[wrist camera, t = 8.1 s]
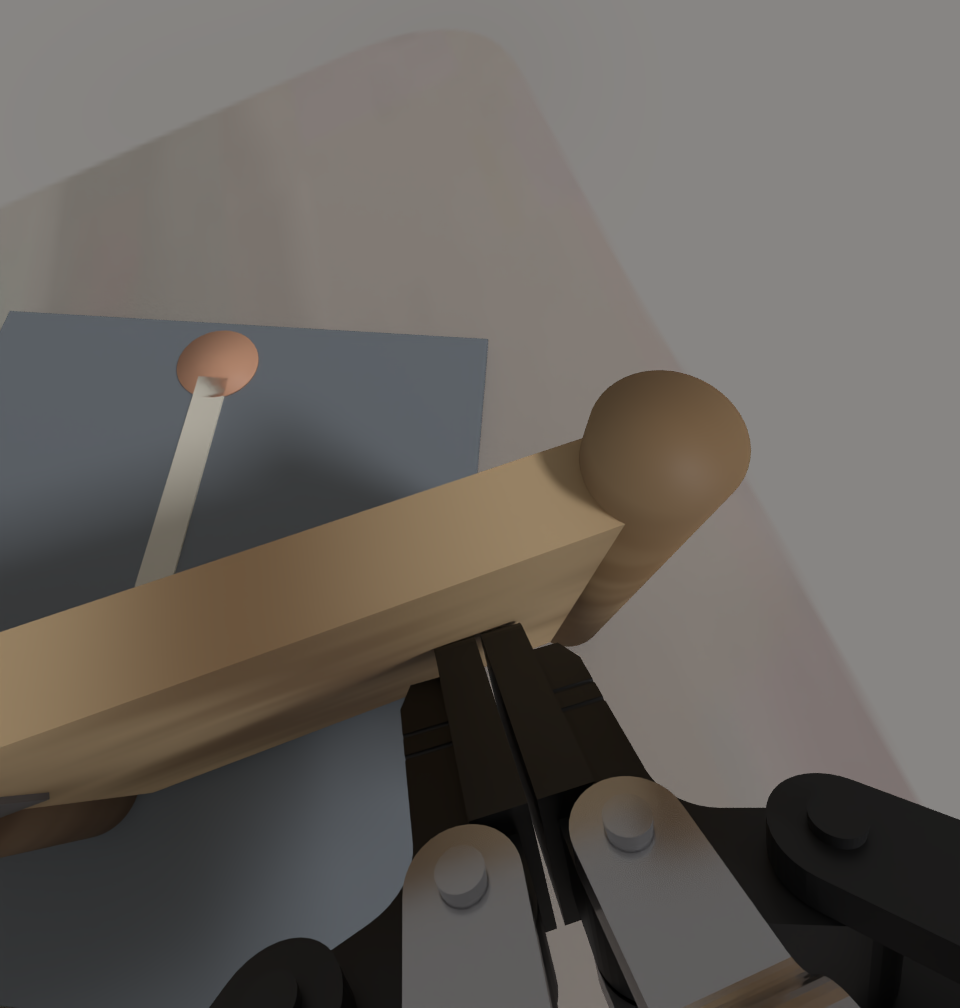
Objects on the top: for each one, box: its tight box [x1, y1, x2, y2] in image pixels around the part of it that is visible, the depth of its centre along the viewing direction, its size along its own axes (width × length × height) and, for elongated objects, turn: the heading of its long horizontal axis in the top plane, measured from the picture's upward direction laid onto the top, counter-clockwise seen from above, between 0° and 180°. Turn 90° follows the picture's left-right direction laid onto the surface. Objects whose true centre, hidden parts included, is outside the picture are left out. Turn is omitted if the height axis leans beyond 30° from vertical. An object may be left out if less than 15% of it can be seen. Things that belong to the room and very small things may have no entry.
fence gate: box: [0, 370, 751, 818], centre depth 10 cm, size 11×2×9 cm, turn 110°
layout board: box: [0, 311, 488, 1008], centre depth 15 cm, size 15×17×1 cm
